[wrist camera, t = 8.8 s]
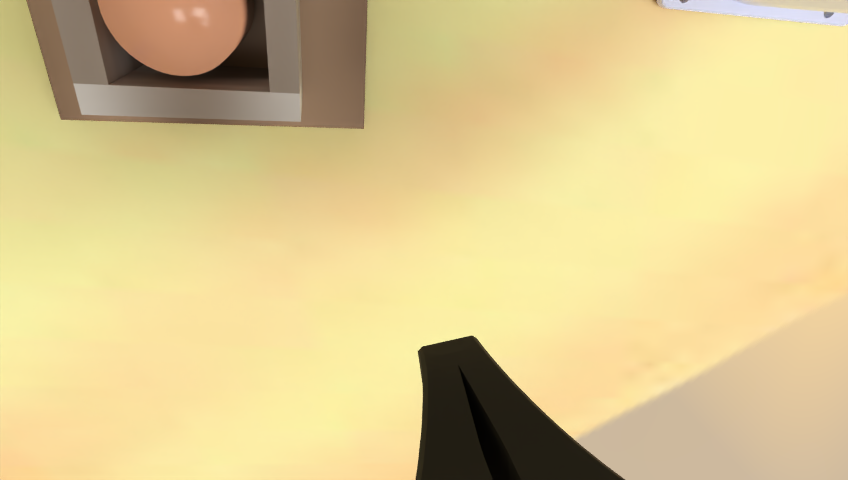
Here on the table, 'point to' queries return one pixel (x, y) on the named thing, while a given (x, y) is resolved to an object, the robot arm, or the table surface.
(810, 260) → the table surface
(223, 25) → the terracotta plug
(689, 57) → the table surface
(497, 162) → the table surface
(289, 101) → the board
